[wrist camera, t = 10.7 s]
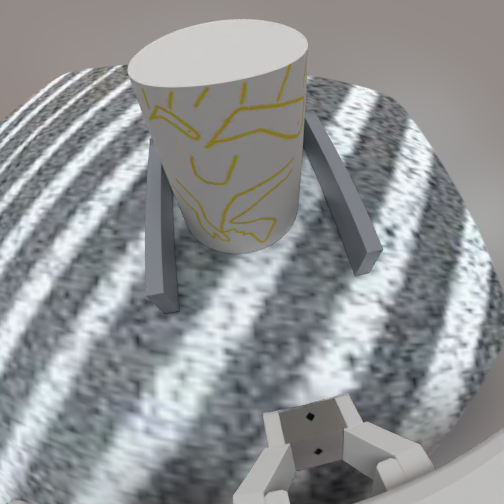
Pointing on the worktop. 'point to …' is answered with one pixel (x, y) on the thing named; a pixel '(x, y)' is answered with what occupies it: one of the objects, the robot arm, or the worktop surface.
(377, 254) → the bracket
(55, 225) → the worktop surface
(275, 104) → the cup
